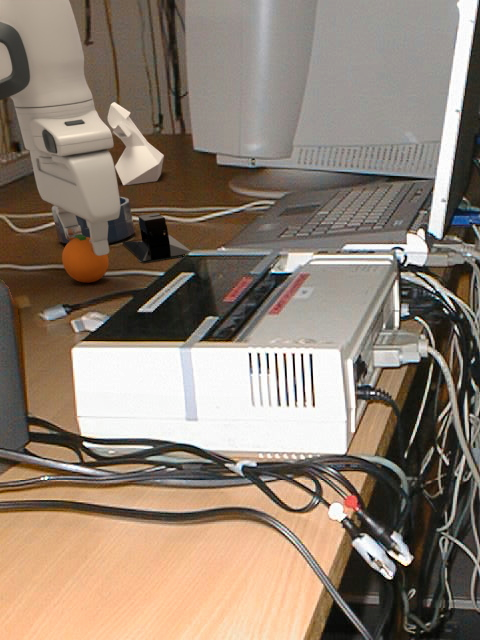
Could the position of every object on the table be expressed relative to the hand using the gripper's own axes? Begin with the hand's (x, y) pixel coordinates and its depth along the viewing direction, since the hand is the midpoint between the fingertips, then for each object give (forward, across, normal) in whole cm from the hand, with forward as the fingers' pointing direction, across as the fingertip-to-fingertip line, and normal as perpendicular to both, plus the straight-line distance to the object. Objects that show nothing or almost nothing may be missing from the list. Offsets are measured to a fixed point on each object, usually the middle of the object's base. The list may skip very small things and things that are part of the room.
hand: (87, 247), depth 114 cm
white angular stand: (+5, -63, +32) cm, 71 cm away
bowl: (+4, -22, +8) cm, 24 cm away
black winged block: (+5, -9, +12) cm, 16 cm away
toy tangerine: (+2, 0, -1) cm, 2 cm away
